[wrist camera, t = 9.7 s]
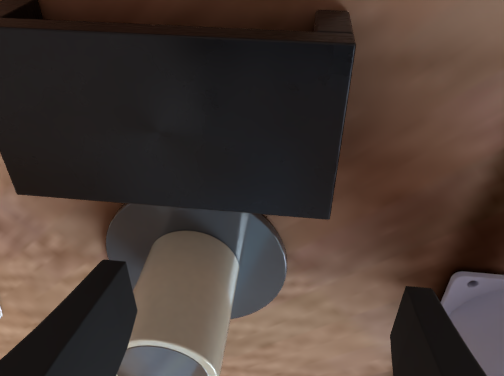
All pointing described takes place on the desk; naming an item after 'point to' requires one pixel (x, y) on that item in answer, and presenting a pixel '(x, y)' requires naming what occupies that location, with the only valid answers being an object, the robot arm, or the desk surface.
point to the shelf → (174, 112)
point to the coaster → (216, 225)
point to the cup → (182, 307)
